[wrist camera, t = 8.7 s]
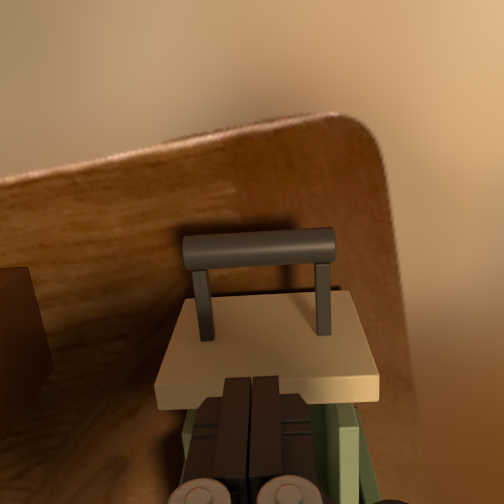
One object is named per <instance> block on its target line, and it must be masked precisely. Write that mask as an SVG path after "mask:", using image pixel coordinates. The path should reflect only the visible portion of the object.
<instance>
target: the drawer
mask: <svg viewBox="0 0 504 504" xmlns="http://www.w3.org/2000/svg"><path fill="white" fill-rule="evenodd" d="M182 257H183V263H184V267H185V269H186V270H192V272H191V273H192V280H193V288H194V296H195V298H192V299H185V301H184V304H183V306H182V309H181V312H180V315H179V317H178V320H177V323H176V326H175V328H174V331H173V334H172V337H171V340H170V342H169V345H168V348H167V351H166V353H165V356H164V359H163V362H162V364H161V367H160V370H159V373H158V375H157V378H156V381H155V384H154V389H155V395H156V401H157V406H158V410H178V409H187V413H186V417H185V421H184V426H183V430H182V434H181V435H182V441H183V447H184V453H185V460H186V459H187V454H188V450H189V445H190V440H191V435H192V430H193V427H194V420H195V415H196V410H197V409H198V408H199V406H200V405H201V404H202V402H203V401H204V400H205V399H206V397H222V395H223V388H224V381H225V378H233V377H251V379H252V384H253V376H275V375H279V389H280V394H292V393H299V394H300V395H301V397H302V398H303V399H304V401H305V402H306V403H307V405H308V409H309V417H310V425H311V434H312V440H313V448H314V456H315V464H316V472H317V479H318V483H319V486H320V488H321V489H322V491H323V492H324V494H325V495H326V496H327V497H328V498H330V499H331V500H332V501H334V502H335V503H337V504H359V426H358V422H357V418H356V414H355V410H354V406H353V402H376V401H378V400H379V373H378V370H377V368H376V365H375V362H374V359H373V356H372V354H371V351H370V348H369V345H368V342H367V340H366V337H365V334H364V331H363V328H362V326H361V323H360V320H359V317H358V315H357V312H356V309H355V306H354V303H353V301H352V298H351V295H350V292H349V290H341V291H331V281H330V262H334V261H335V260H336V238H335V232H334V229H333V227H321V228H305V229H289V230H273V231H256V232H240V233H224V234H207V235H191V236H184V238H183V242H182ZM307 263H314V275H315V292H304V293H286V294H267V295H248V296H230V297H211V292H210V284H209V275H208V269H219V268H237V267H254V266H272V265H289V264H307Z"/></svg>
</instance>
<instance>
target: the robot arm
mask: <svg viewBox="0 0 504 504" xmlns="http://www.w3.org/2000/svg"><path fill="white" fill-rule="evenodd" d="M167 504H337V503H335V502H334V501H332V500H331V499H330V498H328V497H327V496H326V495H325V494H324V492H323V491H322V489H321V488H320V486H319V483H318V479H317V472H316V464H315V456H314V448H313V440H312V434H311V425H310V417H309V409H308V405H307V403H306V402H305V401H304V399H303V398H302V397H301V395H300V394H299V393H292V394H280V389H279V375H275V376H253V384H252V379H251V377H233V378H225V381H224V388H223V395H222V397H206V399H205V400H204V401H203V402H202V404H201V405H200V406H199V408H198V409H197V410H196V415H195V420H194V427H193V430H192V435H191V440H190V445H189V450H188V454H187V459H186V464H185V469H184V474H183V479H182V484H181V485H180V486H179V487H178V488H177V489H175V491H174V492H173V493H172V494H171V496H170V497H169V500H168V502H167ZM373 504H408V503H405V502H402V501H398V500H382V501H378V502H375V503H373Z"/></svg>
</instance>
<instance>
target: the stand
mask: <svg viewBox="0 0 504 504" xmlns="http://www.w3.org/2000/svg"><path fill="white" fill-rule="evenodd" d="M53 370H54V367H53V363H52V360H51V356H50V352H49V348H48V344H47V340H46V336H45V333H44V329H43V325H42V321H41V317H40V313H39V309H38V306H37V302H36V298H35V294H34V290H33V286H32V283H31V279H30V275H29V271H28V268H27V267H22V268H5V269H0V444H1V443H2V441H3V440H4V438H5V437H6V436H7V434H8V433H9V431H10V430H11V429H12V427H13V426H14V424H15V423H16V422H17V420H18V419H19V417H20V416H21V415H22V413H23V412H24V410H25V409H26V408H27V406H28V405H29V403H30V402H31V401H32V399H33V398H34V396H35V395H36V394H37V392H38V391H39V389H40V388H41V387H42V385H43V384H44V382H45V381H46V380H47V378H48V377H49V375H50V374H51V373H52V371H53Z"/></svg>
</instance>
